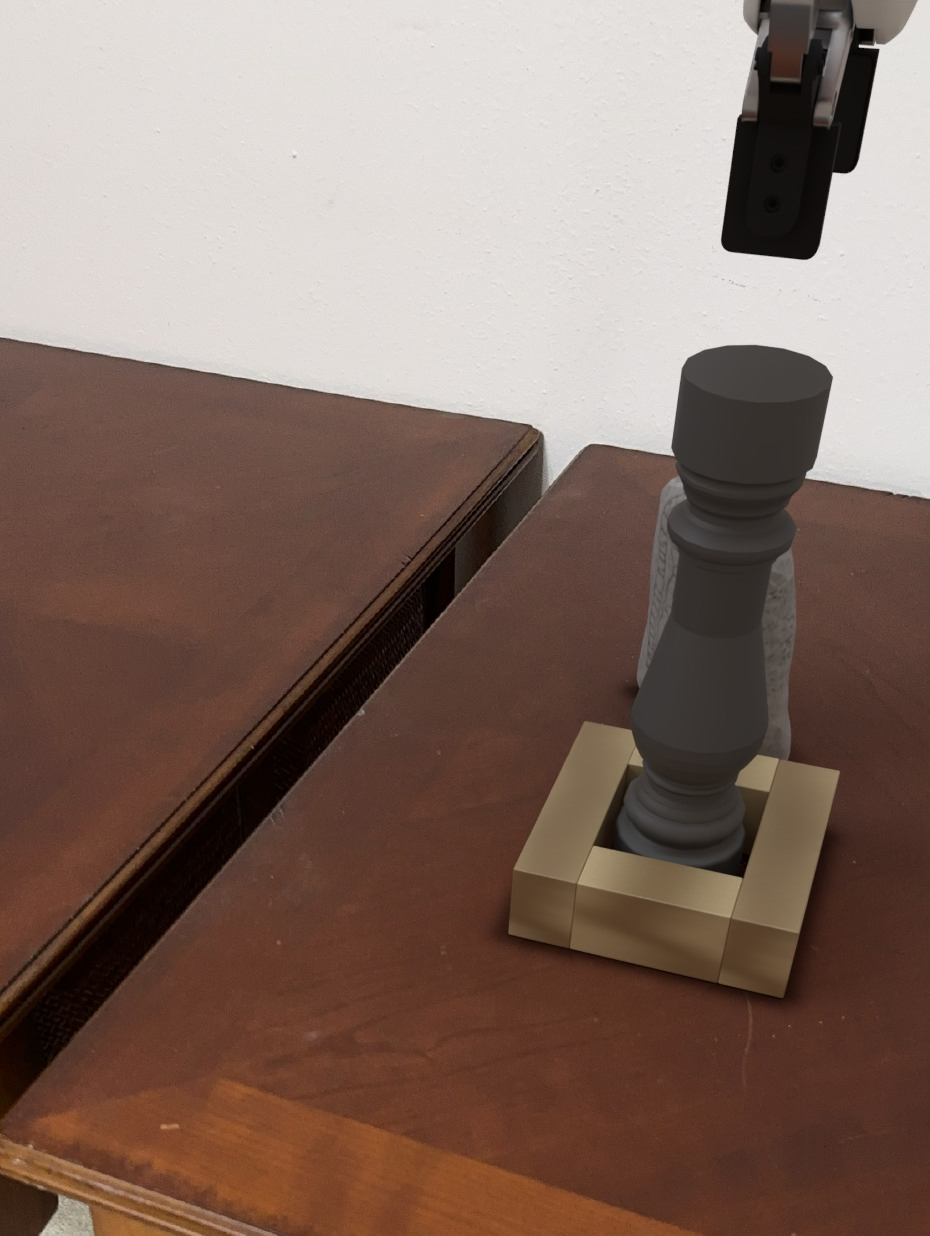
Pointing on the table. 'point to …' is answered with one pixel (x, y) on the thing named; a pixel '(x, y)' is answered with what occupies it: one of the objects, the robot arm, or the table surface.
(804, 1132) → the table surface
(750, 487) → the candle holder
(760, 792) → the socket stand
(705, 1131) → the table surface
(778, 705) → the decorative stone
